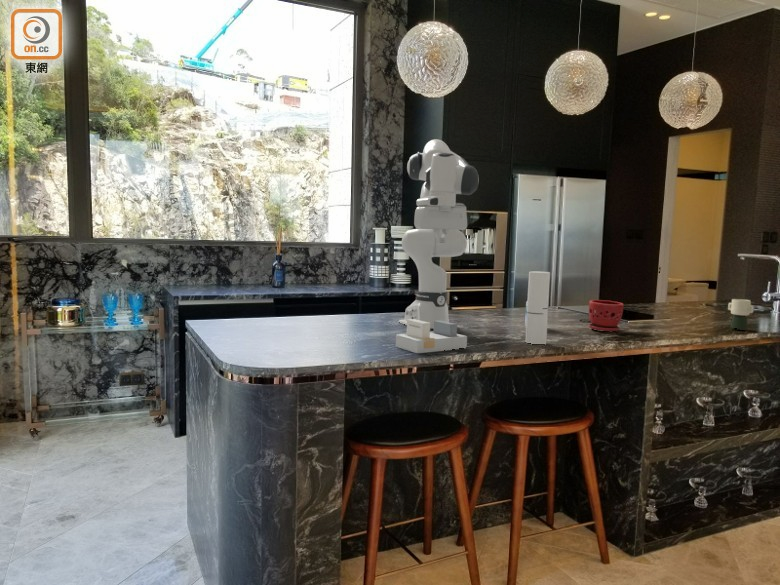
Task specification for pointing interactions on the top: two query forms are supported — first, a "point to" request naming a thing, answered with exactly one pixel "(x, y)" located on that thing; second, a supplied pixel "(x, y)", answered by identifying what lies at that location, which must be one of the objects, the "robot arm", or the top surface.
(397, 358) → the top surface
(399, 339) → the rack
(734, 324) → the character mug
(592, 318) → the plant pot
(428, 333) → the panel
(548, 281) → the white tall box
